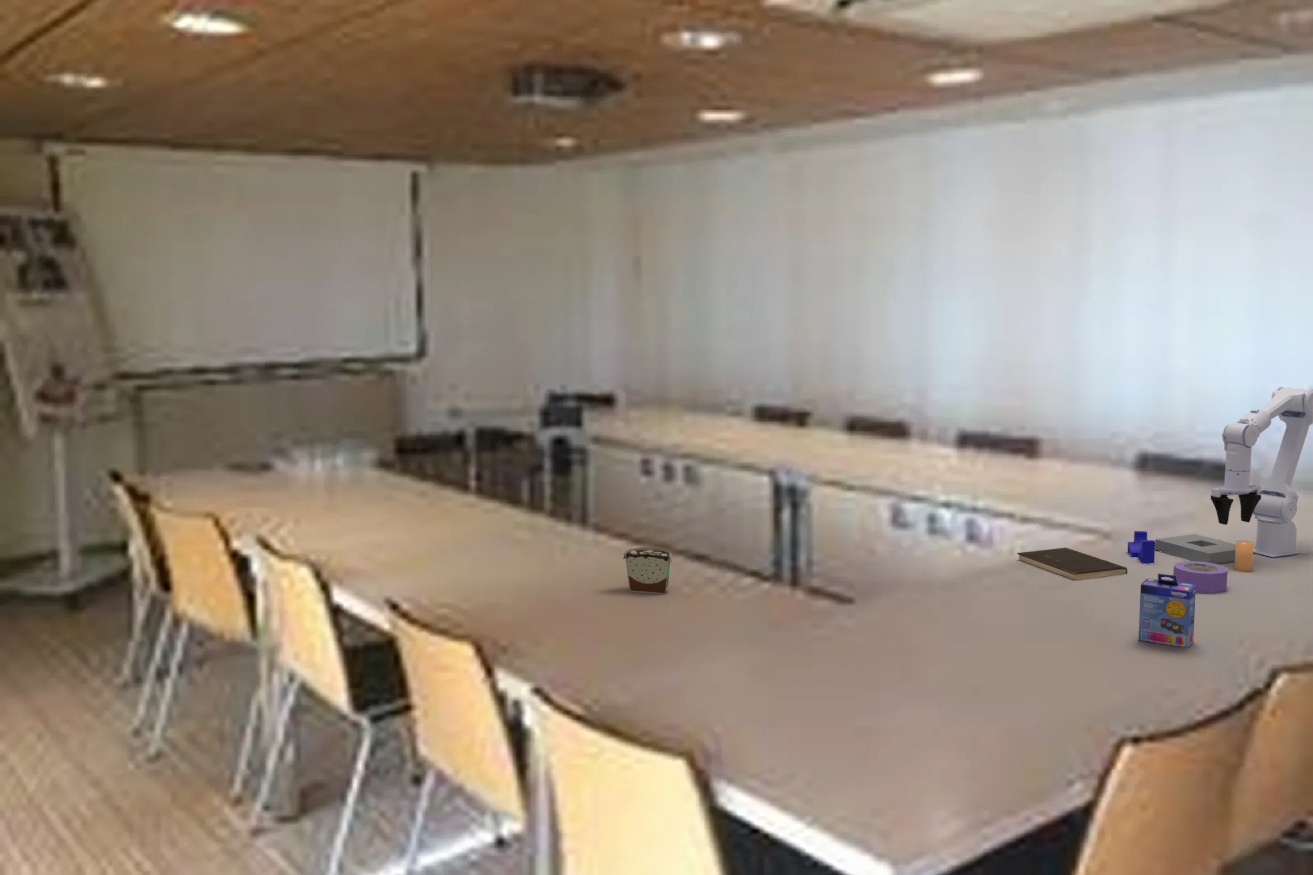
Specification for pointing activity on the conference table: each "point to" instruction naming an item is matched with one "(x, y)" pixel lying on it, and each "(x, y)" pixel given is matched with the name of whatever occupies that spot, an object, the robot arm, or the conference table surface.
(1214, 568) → the tape roll
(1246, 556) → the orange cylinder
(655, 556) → the food container
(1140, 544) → the cable clip
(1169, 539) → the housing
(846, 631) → the conference table surface
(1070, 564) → the hardcover book
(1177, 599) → the ink cartridge box
